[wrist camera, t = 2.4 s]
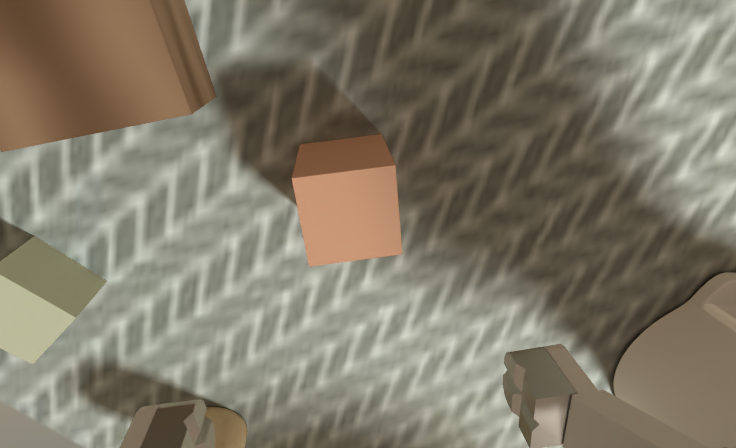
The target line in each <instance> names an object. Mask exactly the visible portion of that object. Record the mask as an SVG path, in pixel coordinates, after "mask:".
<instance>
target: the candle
mask: <svg viewBox="0 0 736 448" xmlns="http://www.w3.org/2000/svg"><path fill="white" fill-rule="evenodd" d="M205 416H206V417H207V418H209V419H211V420H212V423H213V425H214V430H215V448H245V443H246V437H247V425H246V423H245V421H244V420H243V418H242V417H241V416H239V415H238V414H237V413H235V412H233V411H231V410H228V409H225V408H220V407H207V409H206V413H205Z"/></svg>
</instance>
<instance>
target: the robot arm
mask: <svg viewBox="0 0 736 448" xmlns="http://www.w3.org/2000/svg"><path fill="white" fill-rule="evenodd" d="M504 364H505V366H506V368H507V371H506V373H505V374H504V375H503V388H504V394H505V397H506V400H507V403H508V405H509V407H510V409H511V411H512V412H513V413H515V414H516V415H518V416H519V428H520V430H521V432H522V434H523V436H524V438H525V440H526V442H527V444H528V446H529V448H542V447H550V446H557V445H563V447H564V448H736V273H721V274H719V275H717V276H715V277H713V278H712V279H710V280H709V281H708V282H707V283H706V284H705V285H704V286H702V287H701V288H700V289H699V290H698V291H697V292H696V293H695V294H694V296H693V297H692V298H691V299H690V300H689V301H687V302H686V303H685V304H683V305H682V306H680V307H679V308H677V309H675V310H674V311H672V312H670V313H669V314H667V315H665V316H664V317H662V318H661V319H659V320H658V321H656V322H655V323H654V324H652V325H651V326H650V327H648V328H647V329H646V330H645V331H644V332H643V333H642V334H640V335H639V336H638V337H637V338H636V340H635V341H634V342H633V343H632V344H631V345H630V346H629V348H628V349H627V350H626V352H625V353H624V355H623V357H622V358H621V360H620V362H619V364H618V366H617V369H616V372H615V376H614V392H615V396H614V395H612V394H610V393H608V392H607V391H605V390H600V391H598V390H597V388H596V387H595V386H594V384H593V383H592V382H591V381H590V379H589V378H588V377H587V375H586V374H585V373H584V371H583V370H582V369H581V367H580V366H579V365H578V363H577V362H576V361H575V360H574V358H573V357H572V356H571V354H570V353H569V352H568V350H567V349H566V348H565V346H563V345H561V344H557V345H551V346H544V347H537V348H531V349H525V350H519V351H513V352H507V353H506V354H505V357H504ZM206 409H207V407H206V405H205V403H204V401H203V400H202V399H197V400H189V401H181V402H172V403H164V404H159V405H151V406H143V407H141V408H140V409H139V410H138V411H137V412H136V414H135V416H134V419H133V421H132V423H131V425H130V427H129V429H128V431H127V433H126V435H125V437H124V440H123V442H122V444H121V446H120V448H215V430H214V425H213V423H212V420H211V419H209V418H207V417H206V416H205V413H206Z"/></svg>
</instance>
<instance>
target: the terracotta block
mask: <svg viewBox="0 0 736 448" xmlns="http://www.w3.org/2000/svg"><path fill="white" fill-rule="evenodd" d="M292 183H293V188H294V193H295V198H296V203H297V208H298V213H299V218H300V223H301V228H302V233H303V238H304V243H305V248H306V253H307V258H308V263H309V266H317V265H324V264H332V263H339V262H347V261H355V260H362V259H370V258H377V257H385V256H392V255H400V254H402V243H401V230H400V217H399V204H398V191H397V178H396V165H395V163H394V161H393V158H392V156H391V154H390V152H389V149H388V147H387V145H386V143H385V140H384V138H383V136H382V134H378V135H370V136H362V137H354V138H346V139H338V140H330V141H322V142H314V143H306V144H300V146H299V150H298V154H297V158H296V162H295V166H294V171H293V175H292Z"/></svg>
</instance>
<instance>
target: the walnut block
mask: <svg viewBox="0 0 736 448" xmlns="http://www.w3.org/2000/svg"><path fill="white" fill-rule="evenodd" d="M215 97H217V96H216V93H215V90H214V87H213V84H212V81H211V78H210V75H209V72H208V70H207V67H206V64H205V61H204V58H203V55H202V52H201V49H200V46H199V43H198V40H197V37H196V34H195V31H194V28H193V25H192V22H191V19H190V16H189V13H188V10H187V7H186V4H185V1H184V0H0V150H1V151H2V152H4V151H9V150H14V149H19V148H24V147H29V146H34V145H39V144H44V143H49V142H54V141H59V140H64V139H69V138H74V137H79V136H84V135H89V134H94V133H99V132H104V131H109V130H114V129H119V128H124V127H130V126H135V125H140V124H145V123H150V122H155V121H160V120H165V119H170V118H175V117H180V116H185V115H190V114H192V113H194V112H195V111H197V110H198V109H200V108H201V107H203V106H204V105H205V104H207V103H208V102H210V101H211V100H213V99H214V98H215Z"/></svg>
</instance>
